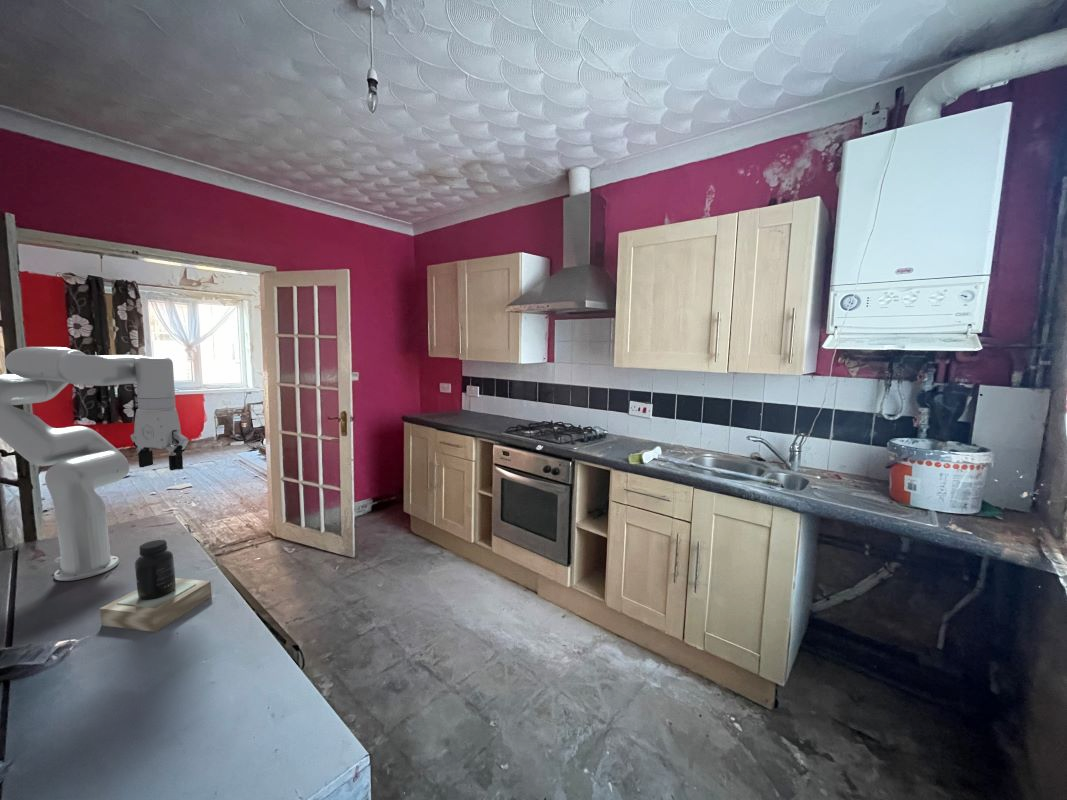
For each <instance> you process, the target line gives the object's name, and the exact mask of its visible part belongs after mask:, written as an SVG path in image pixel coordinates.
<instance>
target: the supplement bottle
mask: <svg viewBox="0 0 1067 800" xmlns="http://www.w3.org/2000/svg"><path fill="white" fill-rule="evenodd" d="M167 544H168V543H167V541H166V539H155V540H151V541H147V542H144V543H142V544H141V545H139V547H138V549H139V552H138V553H139V557H138V558H137V559H136V560H135V562H134V569H135V579H136V590H137V592H138V597H139V598H140V599H142V600H152V599H157V598H160V597H163V596H165V595H168V594H169V593H171V592H172V591H173V590H174V589H175V587H176V581H175V578H176V572H175V562H174V561H175V559H174V558H175V557H174V554H173V552H171V551H169V550H168V545H167Z"/></svg>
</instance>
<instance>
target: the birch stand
mask: <svg viewBox="0 0 1067 800" xmlns="http://www.w3.org/2000/svg"><path fill="white" fill-rule="evenodd" d="M175 581H176V587H175V589H174V590H173V591H172V592H171V593H169V594H168V595H165V596H163V597H160V598H157V599H152V600H142V599H140V598H139V597H138V592H137V589H135V590H133V591H131V592H129V593H127V594H125V595H123V596H122V597H119V598H117V599H115V600H113V601H112V602H110V603H108V604H106V605H103V606H102V607H99V614H100V623H101V626H103V627H110V628H114V627H115V628H120V629H129V630H137V631H144V632H151V633H153V632H154V633H156V632H158V631H160V630H161V629H163V628H164V627H166V626H168V625H169V624H171V623H172V622H174V621H175V619H176V620H177V619H178V618H180V617H182V616H184V615H186V614H187V613H189V611H191V610H193V609H195V608H196V607H198V606H199V605H200V603H201V604H202V603H204V602H206V601H207V600H209V599H210V598H212V597H211V596H212V594H213V593H212V586H211V585H212V584H211V581H210V580H199V579H190V578H188V579H187V578H179V577H175ZM208 598H209V599H208ZM206 599H207V600H206ZM205 600H206V601H205ZM203 601H204V602H203ZM197 605H198V606H197ZM195 606H196V607H195ZM194 607H195V608H194ZM192 608H193V609H192ZM186 612H187V613H186Z"/></svg>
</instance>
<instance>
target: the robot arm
mask: <svg viewBox="0 0 1067 800" xmlns="http://www.w3.org/2000/svg"><path fill="white" fill-rule="evenodd" d="M173 364H174V362H173V361H172V359H171V358H169V357H166V356H165V357H164V356H144V355H140V354H139V355H138V354H137V355H136V354H112V355H111V354H110V355H109V354H108V355H107V354H106V355H105V354H104V355H100V354H99V355H97V354H96V355H95V354H94V355H93V354H86V353H84V352H82V351H80V350H79V349H71V348H68V347H63V346H62V347H61V346H25V347H20V348H17V349H14V350H12V351H11V352H9V353H8V354H7V355H6V357H5V359H4V365H5V367H6V369H7V370H8V371H9V372H10V373H3V374H0V439H1V440H3V441H4V442H5V443H6V444H7V445H8V446H9V447H11V449H13V450H14V451H15V452H16V453H17V454H18V455H20V456H21V457H22V458H23V459H24V460H26V461H27V462H29V463H31V464H32V465H35V466H37V467H47V466H50V467H49V468H48V469H47V470H46V473H45V475H44V480H45V484H46V488H47V489H48V491H49V495H50V496H51V500H52V503H53V509H54V515H55V521H56V528H57V537H58V546H59V547H58V548H59V553H60V554H59V555H60V556H58V557H55V559H54V560H53V561H54V562H55V563H59V566H60V568H58V569H57V570H56V571H55V572H54V573H53V577H54V579H55V580H57V581H60V582H69V581H70V582H71V581H78V580H83V579H88V578H90V577H94V576H98V575H100V574H103V573H106V572H108V571H110V570H112V569H114V568H115V567H117V566H118V565H119V563H120V560H119V557H118V556H116V555H111V545H110V538H109V529H108V519H107V511H106V504H105V501H104V499H102V497H101V496H99V494H98V493H97V492H96V491H95V489H98V488H100V487H104V486H108V485H111V484H113V483H116V482H118V481H121V480H123V479H124V478H126V476H127V475H128V474H129V471H130V464H129V461H128V458H126V456H125V455H124V453H122V452H121V451H120V450H119V449H118V448H117V447H115V446H114V444H112V443H110V442H109V441H108V440H107V439H106V438H104V436H102V435H101V434H100V433H98V432H97V431H96V430H94V429H93V428H90V427H88V426H83V425H74V426H73V425H72V426H66V427H57V428H56V427H53V426H50V425H49V424H47V423H46V422H44V420H43V419H41V418H40V417H39V416H37V415H35V414H33V413H31V412H29V411H27V410H24V409H21V408H18V407H16V406H20V405H29V404H30V405H31V404H38V403H43V402H47V401H50V400H52V399H54V398H55V397H57V396H58V394H59V393H61V391H62V390H64V389H65V388H66V387H67V386H68V385H69V384H71V385H79V386H80V385H81V386H82V385H83V386H95V387H105V386H115V385H116V386H117V385H118V386H119V385H130V384H136V396H137V408H138V409H136V411H135V416H134V426H133V427H134V428H133V430H134V432H133V433H132V434H130V439H131V440H132V445H133V446H134V448H135V452H137V453H138V456H137V457H138V466H139V468H145V467H149V466H153V465H154V454H153V450H152V449H159V450H161V449H166V450H167V451H168V453H169V454H170V455H168V467H169V470H170V471H176V470H181V469H183V468H184V463H183V454H184V453H185V450H187V446H188V443H189V441H190V440H189V438H188V437H187V436H185V435H183V434H182V430H181V423H180V418H179V413H178V410H177V408H176V407H177V406H176V392H175V377H174V376H175V375H174V374H175V373H174V365H173Z"/></svg>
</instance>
